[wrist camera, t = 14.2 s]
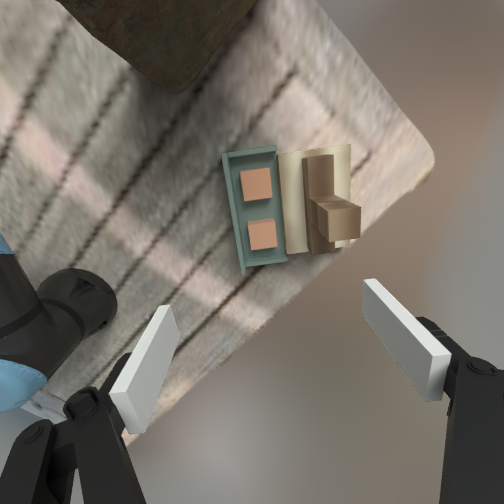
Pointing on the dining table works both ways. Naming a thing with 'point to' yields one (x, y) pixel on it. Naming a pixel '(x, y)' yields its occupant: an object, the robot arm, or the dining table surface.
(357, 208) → the t-shaped wooden block
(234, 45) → the dining table surface
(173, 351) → the robot arm
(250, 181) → the tile front
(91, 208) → the dining table surface
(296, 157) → the beige slotted plate
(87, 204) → the dining table surface
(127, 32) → the container
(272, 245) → the tile back
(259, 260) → the box
